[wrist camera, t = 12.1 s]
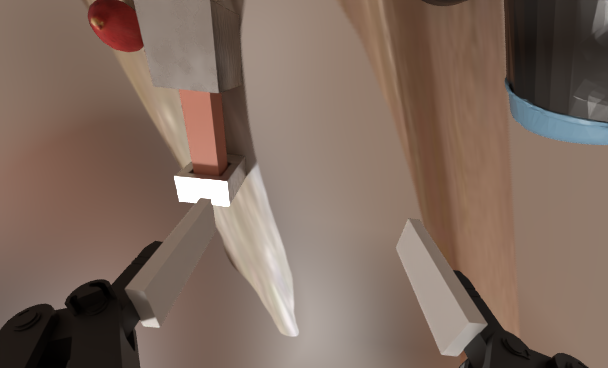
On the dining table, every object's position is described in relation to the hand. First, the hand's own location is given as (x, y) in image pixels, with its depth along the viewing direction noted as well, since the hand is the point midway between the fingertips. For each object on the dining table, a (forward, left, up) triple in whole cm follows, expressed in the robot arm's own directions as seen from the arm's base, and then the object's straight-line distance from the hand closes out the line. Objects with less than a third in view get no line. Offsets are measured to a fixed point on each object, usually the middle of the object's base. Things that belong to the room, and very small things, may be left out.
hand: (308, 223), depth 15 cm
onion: (-11, -27, -27) cm, 40 cm away
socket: (+10, -16, -27) cm, 33 cm away
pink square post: (+2, -16, -23) cm, 28 cm away
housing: (-10, -16, -27) cm, 33 cm away
